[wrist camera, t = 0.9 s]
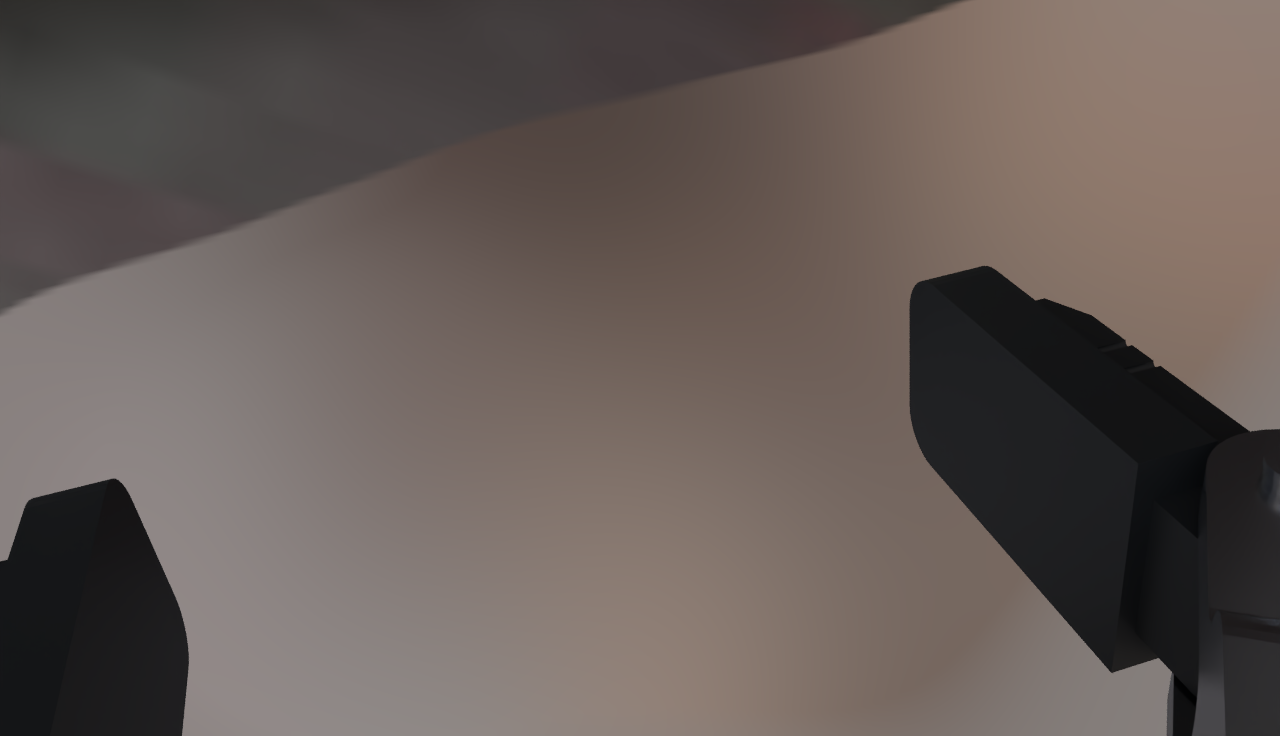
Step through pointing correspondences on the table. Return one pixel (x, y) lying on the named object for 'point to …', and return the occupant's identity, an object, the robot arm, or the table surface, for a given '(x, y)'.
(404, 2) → the table surface
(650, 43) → the table surface
